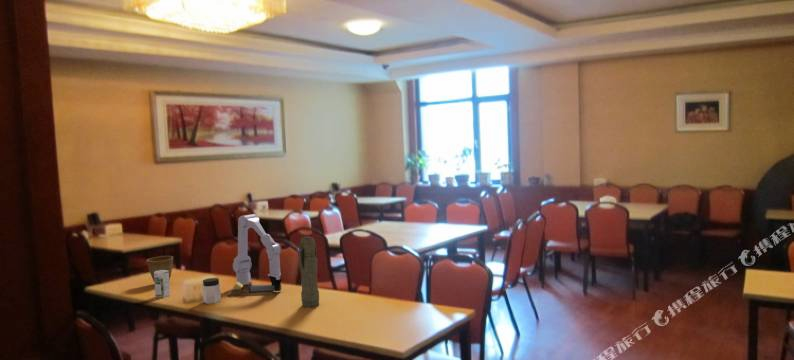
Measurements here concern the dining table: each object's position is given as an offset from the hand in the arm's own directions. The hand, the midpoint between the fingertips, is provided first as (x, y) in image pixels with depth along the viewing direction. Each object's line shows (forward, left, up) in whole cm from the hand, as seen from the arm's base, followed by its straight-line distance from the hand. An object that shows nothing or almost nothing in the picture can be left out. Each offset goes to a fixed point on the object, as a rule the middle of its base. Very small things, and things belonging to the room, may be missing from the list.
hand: (276, 289), depth 326 cm
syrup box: (0, -64, -2) cm, 64 cm away
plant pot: (-29, -77, -2) cm, 82 cm away
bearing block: (0, -14, -1) cm, 14 cm away
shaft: (0, -7, 0) cm, 7 cm away
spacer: (0, -20, +1) cm, 20 cm away
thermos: (+28, +24, -2) cm, 37 cm away
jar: (+15, -31, -2) cm, 34 cm away
